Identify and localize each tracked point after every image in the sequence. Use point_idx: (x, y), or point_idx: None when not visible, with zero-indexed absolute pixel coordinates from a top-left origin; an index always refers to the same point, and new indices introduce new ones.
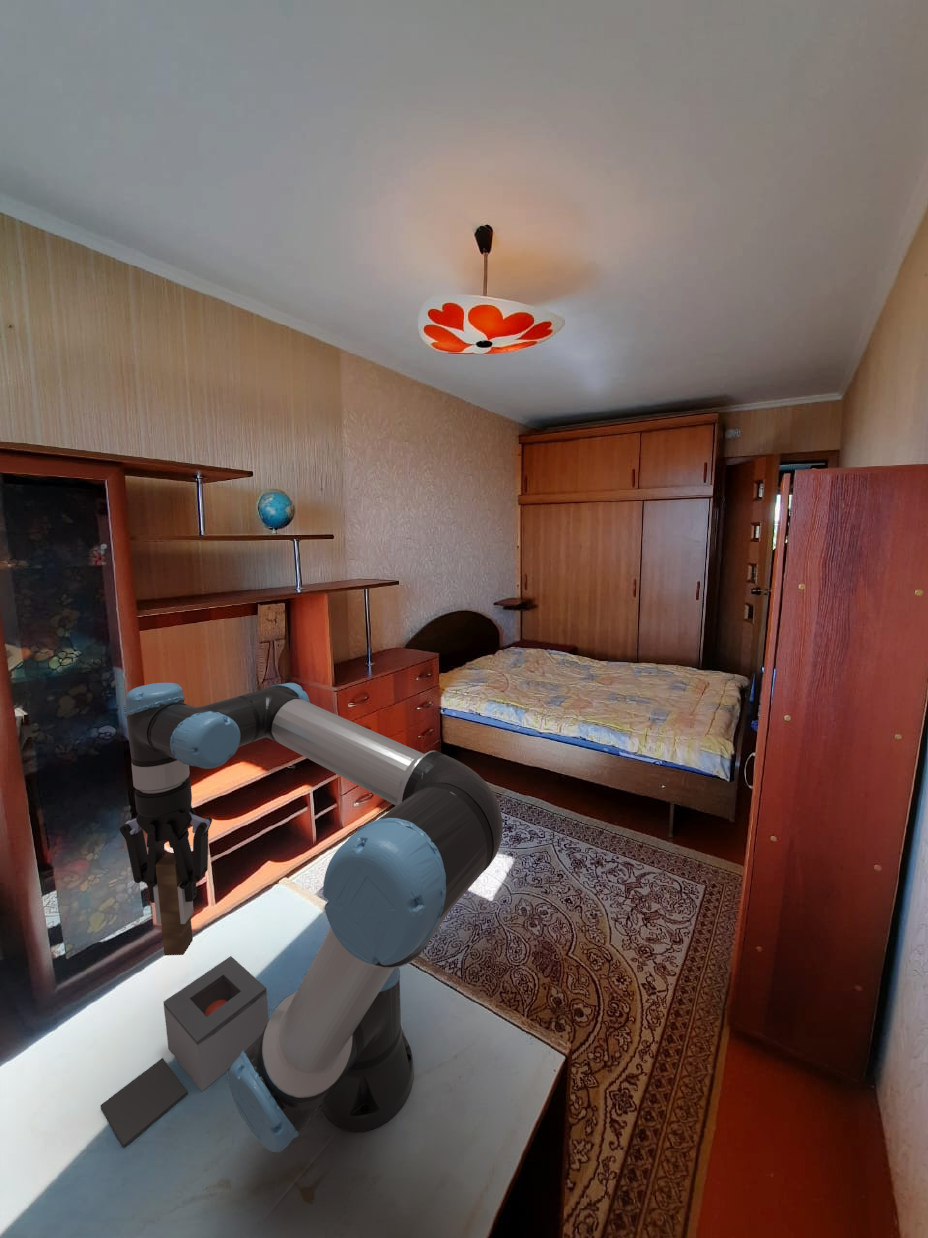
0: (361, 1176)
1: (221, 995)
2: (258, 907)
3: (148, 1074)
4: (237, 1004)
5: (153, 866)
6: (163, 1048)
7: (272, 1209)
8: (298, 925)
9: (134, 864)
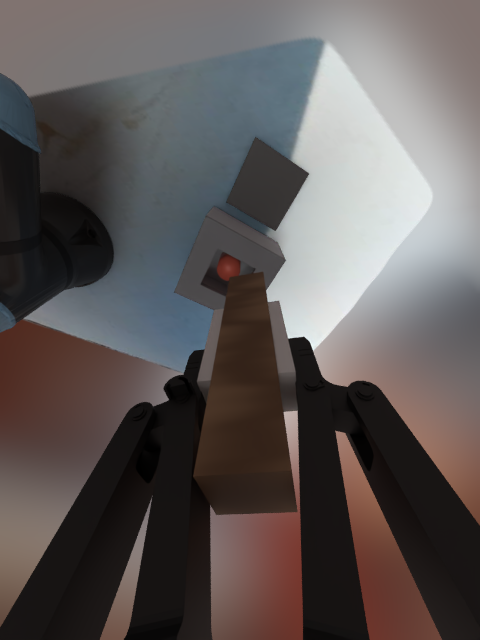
0: None
1: None
2: None
3: (278, 212)
4: (191, 268)
5: (305, 459)
6: (283, 242)
7: (68, 108)
8: None
9: (414, 468)
